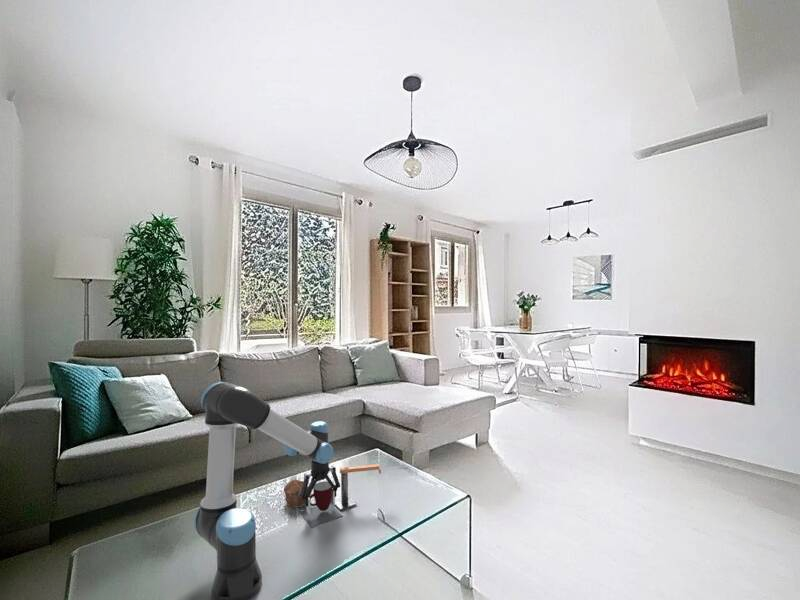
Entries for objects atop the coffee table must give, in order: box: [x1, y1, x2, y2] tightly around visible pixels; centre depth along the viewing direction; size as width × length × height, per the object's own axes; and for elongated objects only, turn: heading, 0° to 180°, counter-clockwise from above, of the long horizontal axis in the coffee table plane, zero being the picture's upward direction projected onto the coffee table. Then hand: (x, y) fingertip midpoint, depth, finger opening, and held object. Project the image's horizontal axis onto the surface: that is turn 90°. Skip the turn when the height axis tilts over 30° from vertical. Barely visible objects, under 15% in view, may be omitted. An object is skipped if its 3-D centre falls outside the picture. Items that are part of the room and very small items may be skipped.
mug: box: [309, 480, 333, 511], centre depth 168 cm, size 11×8×10 cm
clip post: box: [334, 473, 358, 512], centre depth 175 cm, size 8×8×14 cm
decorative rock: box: [283, 478, 308, 508], centre depth 177 cm, size 13×11×10 cm
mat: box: [299, 503, 343, 529], centre depth 168 cm, size 14×14×1 cm
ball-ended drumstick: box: [339, 463, 382, 475], centre depth 177 cm, size 4×19×4 cm, turn 101°
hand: (320, 508), depth 168 cm, fingers closed on mug, 10 cm apart
